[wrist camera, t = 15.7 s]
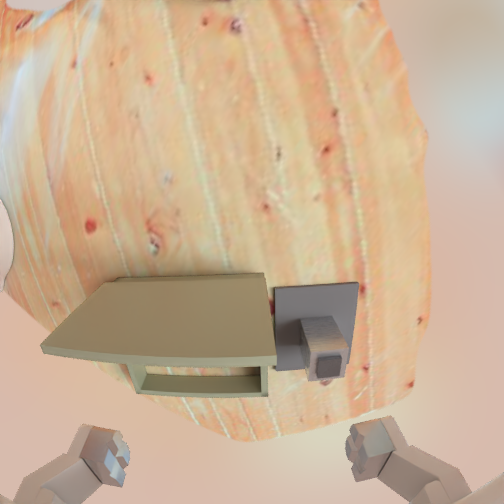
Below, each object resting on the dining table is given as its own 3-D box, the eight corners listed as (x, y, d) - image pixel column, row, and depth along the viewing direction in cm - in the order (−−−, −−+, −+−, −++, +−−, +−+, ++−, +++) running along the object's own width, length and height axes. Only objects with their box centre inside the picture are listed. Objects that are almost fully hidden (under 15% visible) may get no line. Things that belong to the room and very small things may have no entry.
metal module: (298, 345, 36) (309, 384, 28) (300, 318, 34) (311, 355, 27) (329, 342, 36) (345, 380, 28) (332, 315, 34) (350, 351, 27)
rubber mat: (275, 368, 37) (275, 371, 37) (274, 287, 34) (275, 288, 33) (347, 361, 37) (348, 363, 37) (357, 281, 34) (359, 283, 33)
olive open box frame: (143, 377, 38) (106, 466, 22) (116, 271, 33) (40, 344, 17) (266, 379, 38) (274, 480, 22) (263, 266, 33) (276, 355, 17)
